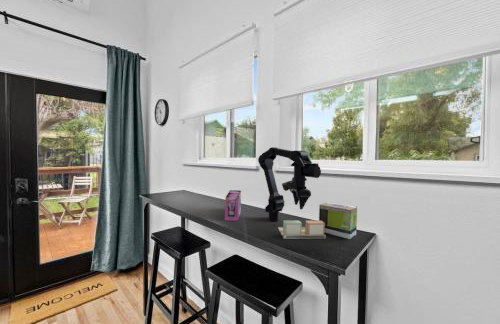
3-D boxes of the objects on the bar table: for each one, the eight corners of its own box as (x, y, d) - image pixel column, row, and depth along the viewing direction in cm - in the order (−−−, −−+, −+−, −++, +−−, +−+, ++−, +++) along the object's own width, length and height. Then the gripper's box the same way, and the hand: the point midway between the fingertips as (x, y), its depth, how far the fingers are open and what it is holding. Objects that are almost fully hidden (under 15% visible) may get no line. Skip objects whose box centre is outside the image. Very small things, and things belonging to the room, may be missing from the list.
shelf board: (277, 229, 113) (277, 224, 113) (313, 229, 114) (314, 224, 114) (283, 242, 98) (284, 235, 97) (325, 241, 99) (326, 235, 99)
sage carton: (282, 234, 103) (283, 220, 103) (298, 234, 104) (299, 220, 103) (284, 237, 99) (285, 223, 99) (301, 237, 99) (301, 223, 99)
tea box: (356, 236, 106) (358, 206, 106) (349, 242, 99) (351, 210, 98) (326, 228, 116) (327, 200, 116) (317, 233, 109) (318, 204, 108)
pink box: (305, 234, 104) (305, 220, 103) (320, 234, 104) (321, 220, 104) (307, 237, 100) (308, 223, 99) (324, 237, 100) (324, 223, 100)
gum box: (238, 221, 124) (238, 198, 124) (224, 221, 125) (224, 197, 124) (241, 210, 148) (241, 190, 147) (229, 210, 148) (229, 190, 148)
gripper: (279, 173, 119) (279, 202, 119) (287, 178, 100) (286, 211, 101) (300, 173, 119) (299, 202, 120) (312, 178, 101) (310, 212, 102)
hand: (298, 206), depth 111 cm, fingers open, 9 cm apart
